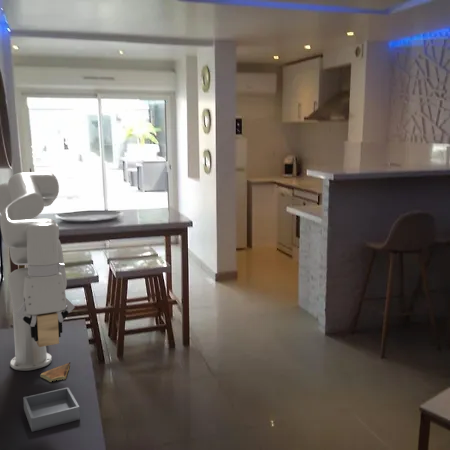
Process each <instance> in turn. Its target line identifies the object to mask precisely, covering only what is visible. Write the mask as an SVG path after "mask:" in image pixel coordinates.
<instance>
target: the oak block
mask: <svg viewBox="0 0 450 450" xmlns="http://www.w3.org/2000/svg"><path fill="white" fill-rule="evenodd" d="M36 325H37V329H38V341H36V343H37V345H38V346H39V347H43V346H46V347H47V346H53V345H59V344H60V337H59V330H58V314H57V313H56V312H55V313H48V314H41V315H38V316H37V320H36Z"/></svg>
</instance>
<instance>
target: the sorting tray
mask: <svg viewBox="0 0 450 450" xmlns="http://www.w3.org/2000/svg"><path fill="white" fill-rule="evenodd" d="M22 399H23V410H24V414H25V417H26V418H27V421H28V422H27V423H28V424H29V428H30V431H31V432H32V433H33V432H36V431H40V430H41V431H42V430H44V429H50V428H52V427H56V426H57V427H58V426H61V425H63V424H67V423H71V422H75V421H80V420H81V414H80V413H81V411H80V410H81V409H80V408H81V407H80V405H79V403H78V402H77V400H76V398H75V396H74V394H73V393H72V391H71V390H70V387H63V388H59V389H58V388H57V389H55V390H50V391H46V392H42V393H41V392H40V393H37V394H33V395H29V396H23V398H22Z"/></svg>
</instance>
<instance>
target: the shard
mask: <svg viewBox="0 0 450 450" xmlns="http://www.w3.org/2000/svg"><path fill="white" fill-rule="evenodd" d="M70 365H71V362H68V363H65V364H62V365H58V366H56V367H54V368H51V369H48V370H46V371H43V372H42V373H41V374H40V378H42V379H44V380H46V381H47V382H49V383H52V381H53V382H55V381H56V380H57V381H62V379H63V380H66V379H67V376H68V373H69V370H70V367H71V366H70Z"/></svg>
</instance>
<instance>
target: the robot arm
mask: <svg viewBox="0 0 450 450" xmlns="http://www.w3.org/2000/svg"><path fill="white" fill-rule="evenodd" d="M58 181H59V180H58V179H57V177H56V175H54V174H53V173H52V172H49V171H31V172H30V171H28V172H22V171H21V172H18V173H15V174H13V175H12V176H11V177H10V178H9V180H8V181H7V182H3V183H1V184H0V232H1V237H2V240H3V243H4V244H5V246H6V247H8V250H9V256H10V260H11V262H12V263H13V264H14V265H17V266H27V267H22V268H21V267H20V268H17V269H14V270H13V271H11V272H10V273H9V274H8V277H7V278H8V279H7V285H8V290H9V294H10V299H11V300H10V301H11V306H12V307H11V308H12V320H13V321H12V322H13V339H14V357H13V358H11V359H10V367H11V368H12V369H13V370H16V371H34V370H38V369H42V368H44V367H47V366H48V365H49V364H51V363H52V360H53V358H52V355H51V354H50V353H48V352H47V346H43V347H39V346H38V345H37V343H36V341H38V329H37V325H36V320H37V316H38V315H41V314H48V313H55V312H56V313H57V314H58V330H59V338H61V337H62V335H61V334H62V333H63V322H64V320H65V319H66V317H67V316H68V315H69V314H70V313H71V312H72V311H73V310H74V309H75V305H74V304H73V303H72V302H71V301H70V300H69V299H68V298H67V296H66V289H67V285H68V283H67V282H68V280H67V273H66V268H65V267H66V266H65V260H64V255H63V254H64V253H63V247H62V243H61V240H60V239H59V238H60V227H59V224H58V223H57V222H56V221H55V220H54V219H52V218H36V217H37V216H39V215H40V214H41V213H42V212H43V210H44V208H45V207H49V206H51V205H52V204H53V203H54V202H55V200H56V199H57V198H58V195H59V191H60V185H59V182H58Z"/></svg>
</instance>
